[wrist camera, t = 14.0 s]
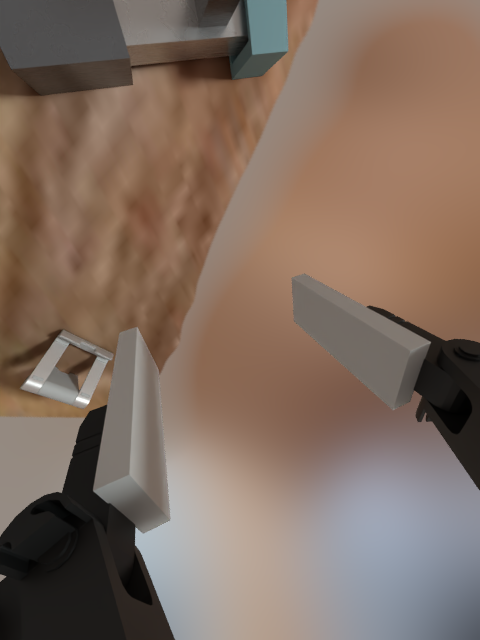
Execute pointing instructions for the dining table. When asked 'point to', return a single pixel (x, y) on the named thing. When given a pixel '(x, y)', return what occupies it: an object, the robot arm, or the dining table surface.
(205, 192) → the dining table surface
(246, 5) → the socket block
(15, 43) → the matte charcoal box
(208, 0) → the gray bar with post
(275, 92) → the dining table surface
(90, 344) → the portable electronic device stand
